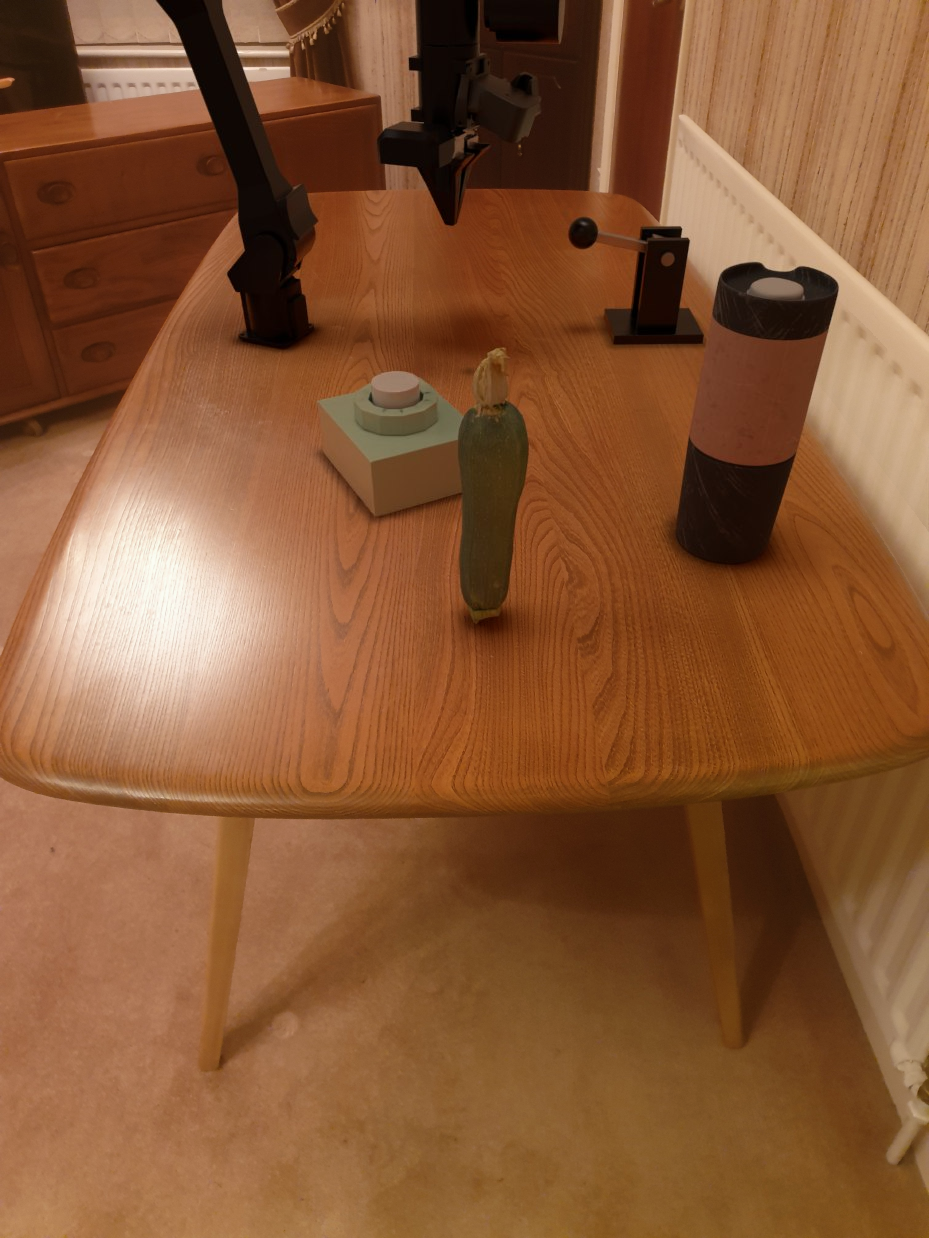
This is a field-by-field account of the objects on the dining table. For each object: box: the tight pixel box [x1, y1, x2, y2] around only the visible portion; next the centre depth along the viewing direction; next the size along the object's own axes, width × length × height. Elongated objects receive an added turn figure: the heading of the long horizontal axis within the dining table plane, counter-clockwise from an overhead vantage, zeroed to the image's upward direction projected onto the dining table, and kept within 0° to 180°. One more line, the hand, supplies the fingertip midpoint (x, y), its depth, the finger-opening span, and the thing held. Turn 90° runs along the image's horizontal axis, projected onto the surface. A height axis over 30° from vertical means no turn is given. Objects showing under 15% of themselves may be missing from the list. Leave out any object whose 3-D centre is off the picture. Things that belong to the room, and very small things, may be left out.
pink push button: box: [370, 370, 420, 409], centre depth 72 cm, size 4×4×2 cm
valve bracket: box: [603, 225, 705, 346], centre depth 96 cm, size 10×8×11 cm
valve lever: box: [567, 216, 670, 253], centre depth 93 cm, size 12×3×3 cm, turn 91°
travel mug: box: [675, 261, 840, 564], centre depth 62 cm, size 8×8×20 cm
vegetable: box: [458, 347, 530, 624], centre depth 55 cm, size 4×4×20 cm
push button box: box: [316, 377, 464, 518], centre depth 74 cm, size 12×10×7 cm
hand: (451, 224), depth 88 cm, fingers closed
